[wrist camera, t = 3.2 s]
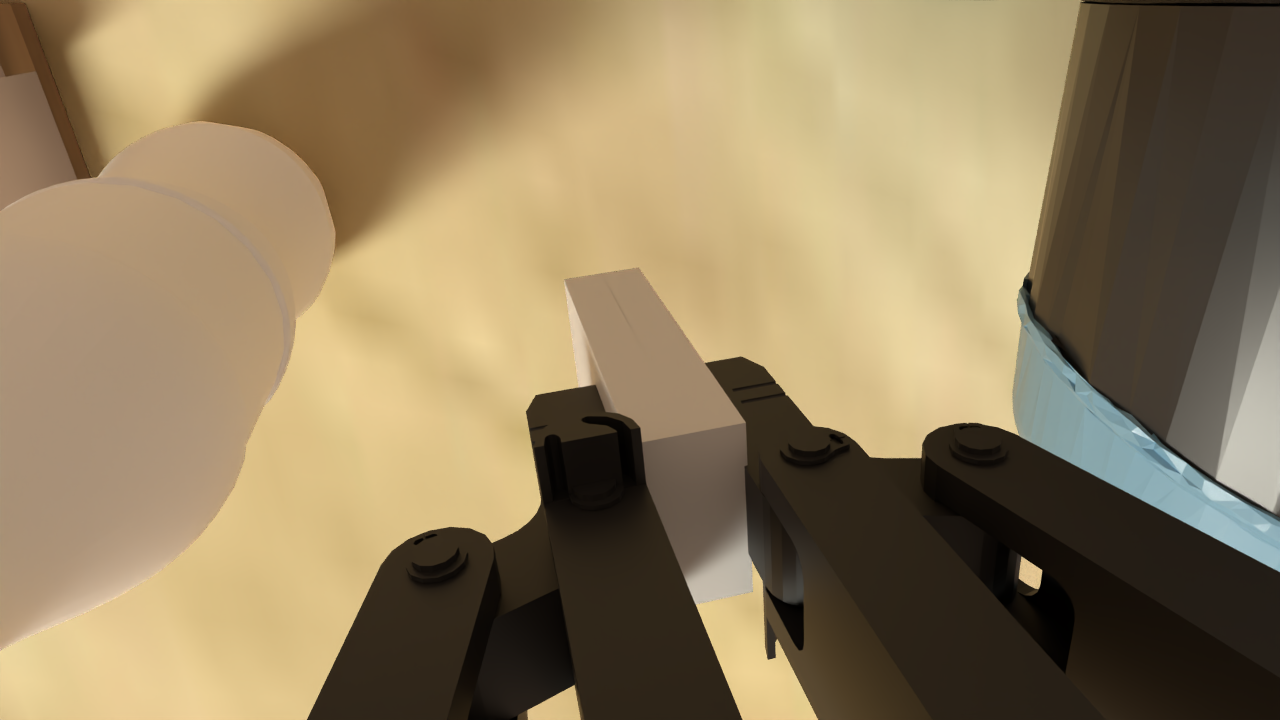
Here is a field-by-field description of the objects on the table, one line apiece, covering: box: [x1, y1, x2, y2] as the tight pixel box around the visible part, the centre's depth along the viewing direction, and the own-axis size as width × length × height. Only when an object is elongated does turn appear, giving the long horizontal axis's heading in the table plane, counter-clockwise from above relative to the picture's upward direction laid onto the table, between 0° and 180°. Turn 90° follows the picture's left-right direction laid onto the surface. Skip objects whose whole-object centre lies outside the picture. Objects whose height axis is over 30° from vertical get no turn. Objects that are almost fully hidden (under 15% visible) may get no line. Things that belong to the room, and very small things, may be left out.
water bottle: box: [0, 121, 336, 651], centre depth 19 cm, size 7×7×25 cm
